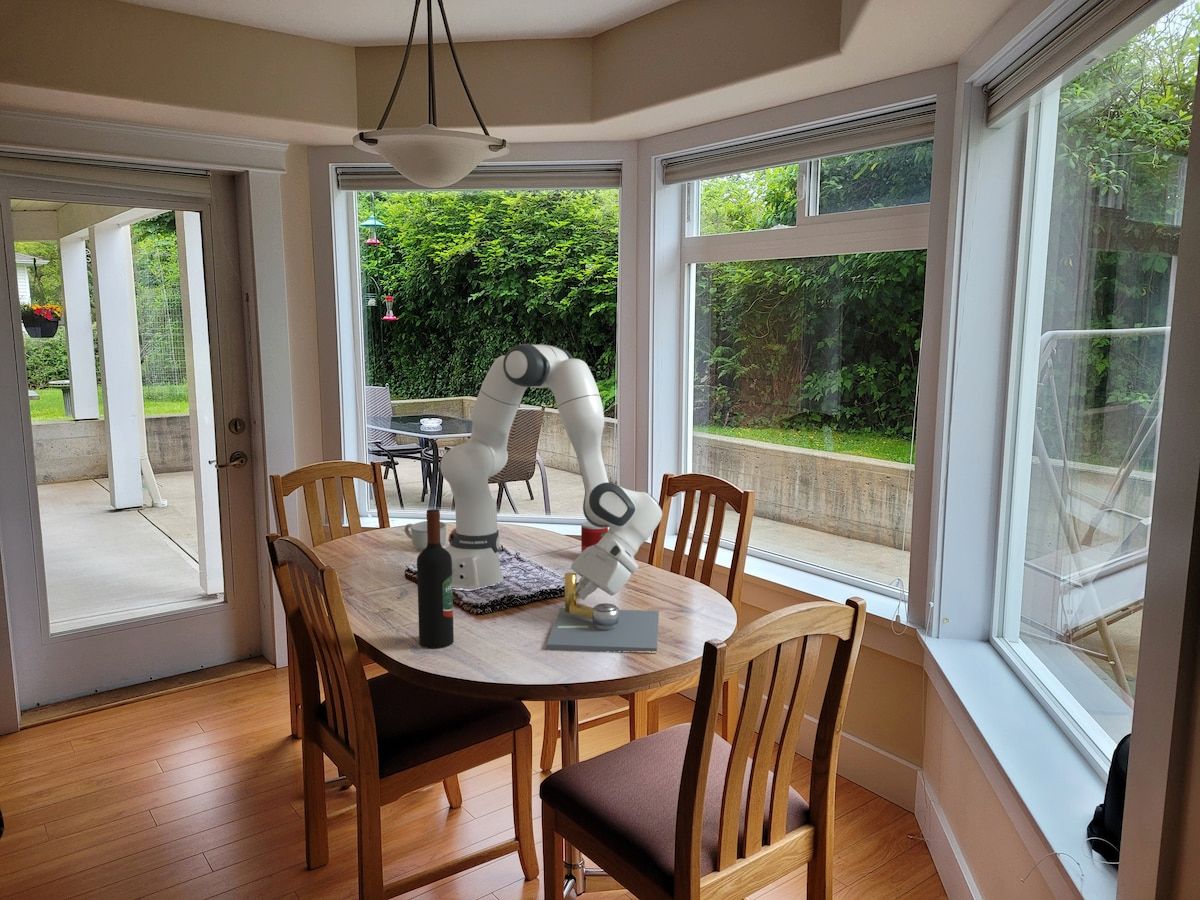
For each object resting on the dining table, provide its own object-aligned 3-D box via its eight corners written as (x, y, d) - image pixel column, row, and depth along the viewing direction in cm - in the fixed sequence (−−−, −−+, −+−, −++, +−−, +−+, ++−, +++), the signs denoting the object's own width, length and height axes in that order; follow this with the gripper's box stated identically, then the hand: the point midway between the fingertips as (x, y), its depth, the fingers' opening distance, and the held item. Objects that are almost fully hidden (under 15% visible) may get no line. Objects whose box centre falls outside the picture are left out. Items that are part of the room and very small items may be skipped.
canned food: (605, 563, 252) (605, 527, 251) (578, 562, 254) (578, 526, 252) (609, 556, 260) (610, 521, 258) (584, 555, 261) (584, 520, 260)
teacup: (453, 548, 269) (453, 523, 268) (429, 556, 260) (428, 530, 259) (421, 542, 277) (420, 518, 275) (396, 549, 268) (395, 524, 266)
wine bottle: (421, 636, 194) (417, 507, 189) (455, 635, 194) (452, 506, 190) (417, 649, 186) (413, 514, 182) (452, 648, 187) (449, 514, 183)
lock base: (546, 649, 186) (546, 639, 186) (560, 612, 210) (560, 604, 210) (656, 653, 184) (656, 643, 184) (658, 615, 208) (658, 607, 208)
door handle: (623, 621, 197) (624, 583, 196) (606, 627, 193) (607, 589, 191) (574, 606, 207) (574, 570, 206) (557, 612, 203) (557, 575, 201)
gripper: (587, 534, 215) (552, 577, 212) (624, 553, 197) (587, 601, 194) (603, 549, 218) (569, 592, 215) (642, 570, 199) (604, 616, 197)
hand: (578, 596), depth 204 cm, fingers closed, pressing on door handle
